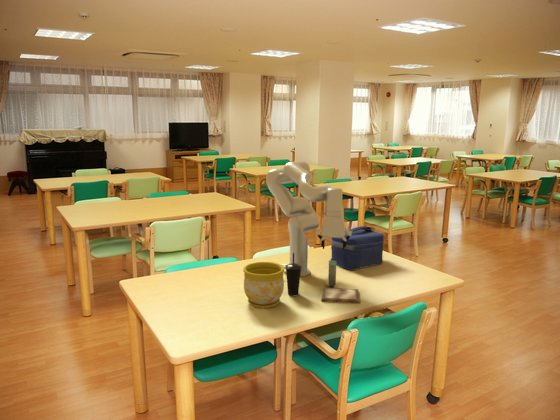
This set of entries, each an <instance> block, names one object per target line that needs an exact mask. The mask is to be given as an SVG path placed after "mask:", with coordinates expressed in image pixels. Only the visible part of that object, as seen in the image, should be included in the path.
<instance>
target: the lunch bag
mask: <svg viewBox="0 0 560 420" xmlns="http://www.w3.org/2000/svg"><path fill="white" fill-rule="evenodd" d="M349 230H350V231H352V234H351V236H350V238H349V239H348V240H347V241H346V247H344V249H343V239H342V238H331V246H330V250H331V258H330V260H335V261H336V266H338V267H341V268H343V269H346V270H350V271H351V270H358V269H361V268H362V269H363V268H366V267H371V266H377V265H382V264H383V250H384V242H385V241H384V238H385V237H384V236H385V234H384V233H382V232H377V231H376V230H373V228H372V227H371V226H364V225H362V226H361V225H360V226H356V227H353V228H351V229H349ZM348 234H349V233H347V232H345V235H344V236H345V237H346V236H347V235H348Z"/></svg>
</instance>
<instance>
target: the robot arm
mask: <svg viewBox="0 0 560 420" xmlns="http://www.w3.org/2000/svg"><path fill="white" fill-rule="evenodd" d="M310 167H311V166H310V165H309V164H308V163H307V161H303V160H298V161H289V162H287V163H286V164H285V165H284V166H283V167H281V168H273V169H271V170H269V171H268V172H267V173H266V176H265V182H266V185H267V186H266V187H267V188H268V190H269V192H270V193H271V195H272V196H273V197H274V199H275V200H276V201H277V204H278V205H279V208H281V211H282V212H283V214H284V215H285V217H286V216H287V217H290V218H289V219H288V222H287V226H288V227H287V228H288V232H289V263H287V264H285V263H282V264H281V265H282V266H283V267H284V270H286V268H285V266H286V265H288V264H291V263H293V253H294V263H296V264H299V265H301V266H302V268H301V273H300V277H306V276H308V275H310V274H311V269H309V267H308V263H309V261H308V258H309V257H308V256H309V254H308V253H309V252H308V251H309V250H308V248H309V247H308V246H309V243H308V238H307V236H306V234H305V233H308V232H311V231H315V234H316V236H317V238H319V239H320V241H321V243H320V244H321V245H320V246H321V248H322V249H323V250H325V239H326V238H327V239H328V238H329V239H332V238H342V239H343V249H344V247H346V241H347V240H348V239H349V238H350V236H351V234H352V231H350V230H351V229H348V228H346V226H345V217H344V216H343V189H342V188H341V187H334V186H331V185H328V184H327V185H316V186H313V185H311V183H312V180H313V176H312V173H310V172H311V168H310ZM293 183H295V184H296V185H297V186H298V191H299V192H300V195H301V196H299V197H294V196H293V195H292V193H291V192H290V190H289V189H288V188H287V187H286V186H284V185H283V184H293ZM302 196H303V197H302ZM310 202H311V203H321V202H326V203H325V205H326V207H325V209H326V210H323V211H322V212H323V213H322V214H323V215H325V216H324V218H323V227H321V228H319V227H320V219H319V215H318V214H317V213H316V211H315V209H314V207H313V206H312V204H311V203H310ZM318 228H319V229H318ZM321 232H322V235H321V234H320V233H321ZM345 232H347V233H349V234H348V235H347V236H346V237H345V236H344V235H345Z"/></svg>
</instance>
